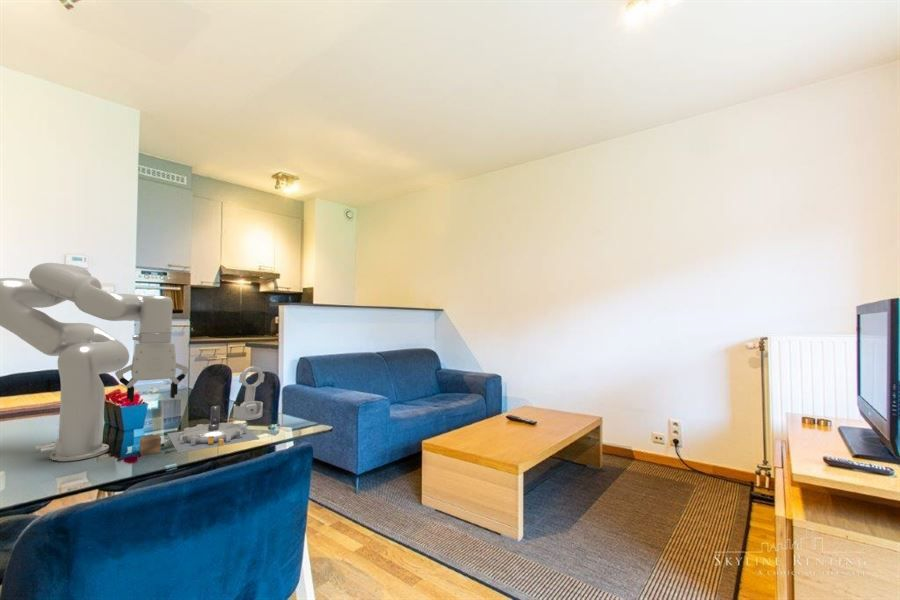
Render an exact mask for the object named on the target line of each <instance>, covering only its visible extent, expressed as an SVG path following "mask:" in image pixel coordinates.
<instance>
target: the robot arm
mask: <svg viewBox="0 0 900 600" xmlns="http://www.w3.org/2000/svg"><path fill="white" fill-rule="evenodd" d="M28 275H29V276H28V278H15V277H3V278H0V327H2V328H4V329H5V330H7V331H9V332H11V333H12V334H14V335H16V336H17V337H18V338H19V339H21V340H22V341H24V342H25V343H27V344H29V345H30V346H32V347H33V348H34V349H36V350H38V351H39V352H41V354H44V355H47V356H50V357H58V358H57V370H58V374H59V378H60V379H59V380H60V381H59V382H60V399H59V400H60V404H59V405H60V406H59V424H58V438H57V439H56V441H53V442H52V443H49V444H45V443H44V444H38V445H35V453H40V454H45V453H46V454H47V453H50V452H51V453H50V454H49V460H51V459H52V460H51V461H53V460H58V461H57V462H72V461H79V460H80V461H81V460H86V459H90V458H95V457H98V456H101V455H104V454H105V453H107V452H108V451H109V450H110V449H109V448H110V446H109V444H106V443H103V436H104V418H105V402H106V401H105V400H106V397H105V395H106V393H105V391H106V389H105V385H104V383H103V381H102V379H101V377H100V375H102V374H108V373H114V374H115V376H116V378H117V380H118V381H119V383H121V384H122V385H124V386H125V387H126V388H127V389H126V390H127V391H126V400H129V403H133V402H135V400H134V399H135V387H134V385H135V384H136V383H137V382H138V381H151V380H153V381H156V380H167V379H170V380H171V383H170V393H169V394H170V395H169V397H170V398H172V399H175V398H176V395H178V386H179V385H178V384H180V382H182V381H183V380H184V379H185V377H186V375H188V373H189V371H190V368H189V366H188V367H187V366H185V365H182V364H181V363H178V362H177V359H176V358H177V356H176V346H175V343H173V342H172V327H173V325H172V324H173V303H174V302H173V299H172V298H171V297H170V296H167V295H166V296H165V295H142V294H131V293H130V294H129V293H113V292H109V291H107V290H104V289H102V284H101V282H100V280H99V279H98V278H96V277H94V276H92V274H91V273H90V271H89V270H88V269H86V268H84V267H82V266H78V265H74V264H73V265H72V264H65V263H59V262H57V263H56V262H44V263H40V264H37V265H36V266H34V267H33V268H32V269H31V270H30V271H29V274H28ZM66 301H70V302H72V303H74V305H75V307H77V308H78V310H79V311H81V312H83V313H85V314H88V315H90V316H93V317H96V318H98V319H101V320H105V321H110V322H117V321H118V322H121V321H122V322H123V321H126V322H127V321H129V322H130V321H135V322H137V321H139V330H138V331H139V333H137V334H134V335H133V334H132V341H138V343H136V344H135V346H134V350H133V355H132V361H131V362H132V363H131V364H130V365H128V363H129V360H130V353H129V350H128V347H126V346H125V344H124V343H122V342H121V341H120V340H118V339H116V338H115V337H113V336H112V335H110V334H109V333H107V332H106V331H104V330H102V329H101V328H100V327H98V326H96V325H93V324H90V323H84V322H61V321H58V320H56V319H54V318H52V317H51V316H49V315H48V314H46V313H45V312H43V311H41V310H40V309H37V308H42V309H43V308H50V307H53V306H56V305H59V304H62V303H63V302H66ZM177 369H179V370H181V373H180V374H178V376H176V373H177V371H176V370H177ZM130 371H131V372H130ZM128 372H130V373H131V378H130V379H129V380H128V379H126V377H124V374H126V373H128Z"/></svg>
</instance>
